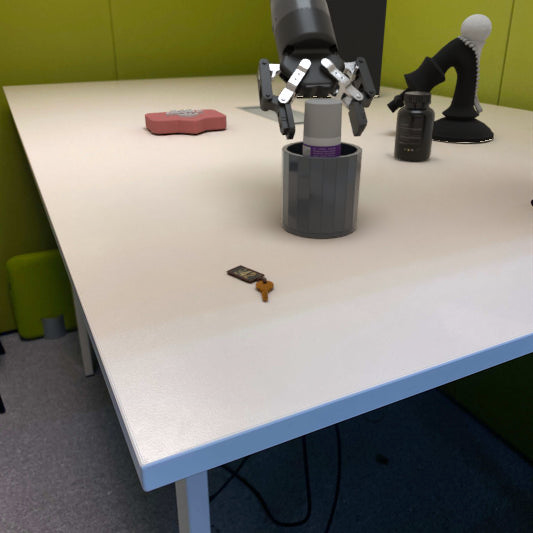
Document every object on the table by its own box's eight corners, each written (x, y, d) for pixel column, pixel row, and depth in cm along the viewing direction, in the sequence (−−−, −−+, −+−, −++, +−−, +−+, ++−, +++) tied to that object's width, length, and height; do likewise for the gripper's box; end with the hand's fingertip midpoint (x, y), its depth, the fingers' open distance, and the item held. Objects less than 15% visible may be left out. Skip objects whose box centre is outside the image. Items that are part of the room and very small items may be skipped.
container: (343, 218, 72) (349, 100, 66) (326, 228, 69) (332, 105, 62) (311, 211, 75) (315, 97, 68) (294, 221, 71) (296, 102, 65)
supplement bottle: (398, 152, 109) (404, 89, 104) (433, 155, 106) (441, 91, 101) (389, 160, 103) (395, 93, 98) (425, 163, 101) (434, 96, 96)
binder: (372, 92, 193) (380, -10, 179) (379, 98, 179) (388, -12, 166) (295, 92, 193) (297, -9, 180) (296, 98, 180) (298, -11, 166)
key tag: (224, 270, 59) (223, 265, 58) (248, 264, 60) (247, 259, 60) (264, 301, 52) (264, 295, 52) (290, 293, 54) (290, 288, 54)
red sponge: (155, 120, 120) (142, 111, 133) (157, 138, 122) (144, 127, 135) (232, 115, 127) (213, 106, 139) (233, 132, 128) (213, 122, 141)
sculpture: (500, 144, 115) (523, 13, 105) (386, 141, 118) (397, 14, 108) (484, 130, 129) (503, 13, 119) (382, 128, 132) (392, 14, 122)
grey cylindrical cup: (317, 207, 78) (319, 137, 74) (372, 225, 71) (378, 148, 67) (266, 223, 72) (265, 148, 68) (321, 244, 65) (324, 162, 61)
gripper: (252, 5, 66) (273, 117, 61) (363, 5, 69) (392, 113, 63) (245, 49, 73) (263, 154, 68) (346, 48, 76) (371, 148, 70)
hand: (326, 134), depth 66 cm, fingers open, 8 cm apart
